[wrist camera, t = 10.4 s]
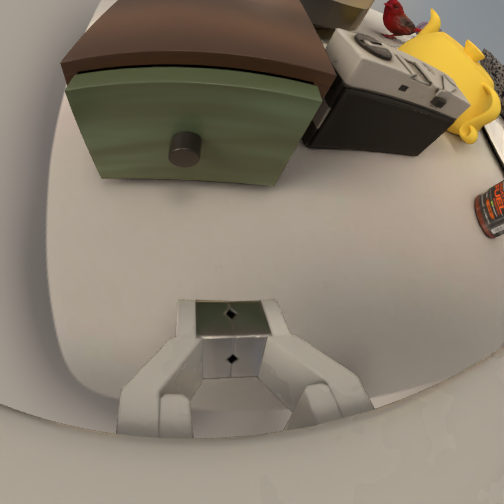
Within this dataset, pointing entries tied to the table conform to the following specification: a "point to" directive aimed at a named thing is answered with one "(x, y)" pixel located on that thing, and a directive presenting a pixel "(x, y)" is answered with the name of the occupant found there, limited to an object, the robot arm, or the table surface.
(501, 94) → the bowl
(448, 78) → the camera
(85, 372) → the table surface
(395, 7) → the decorative bird figurine
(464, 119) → the teapot
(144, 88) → the drawer
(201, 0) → the cabinet
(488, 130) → the plate
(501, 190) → the supplement bottle
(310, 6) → the planter
